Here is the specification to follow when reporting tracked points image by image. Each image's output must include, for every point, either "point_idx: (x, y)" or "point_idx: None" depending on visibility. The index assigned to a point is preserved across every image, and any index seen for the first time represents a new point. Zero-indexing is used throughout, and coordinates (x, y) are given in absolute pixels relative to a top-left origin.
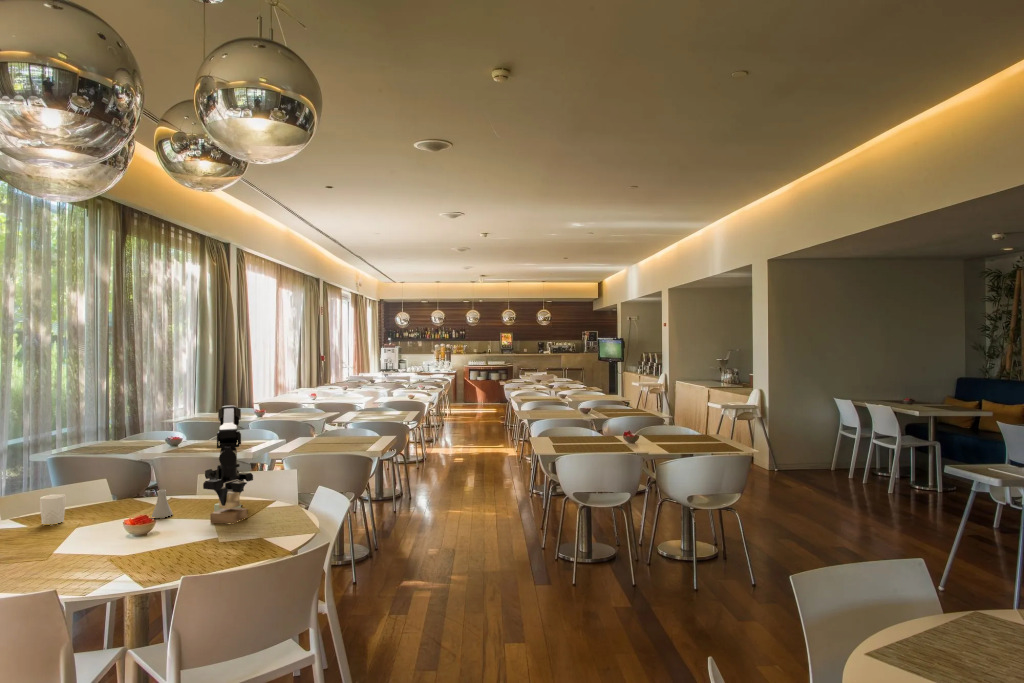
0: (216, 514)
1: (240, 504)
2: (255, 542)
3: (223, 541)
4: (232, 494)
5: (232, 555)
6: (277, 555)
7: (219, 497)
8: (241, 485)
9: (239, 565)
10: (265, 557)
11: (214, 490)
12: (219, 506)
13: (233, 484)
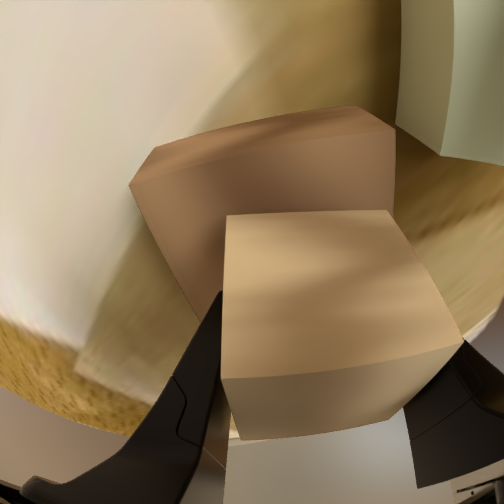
0: (157, 238)
1: (500, 162)
2: (137, 412)
3: (82, 375)
4: (293, 434)
5: (76, 408)
6: (131, 435)
7: (175, 381)
8: (416, 476)
9: (74, 420)
10: (114, 430)
11: (93, 470)
12: (227, 233)
13: (485, 452)
